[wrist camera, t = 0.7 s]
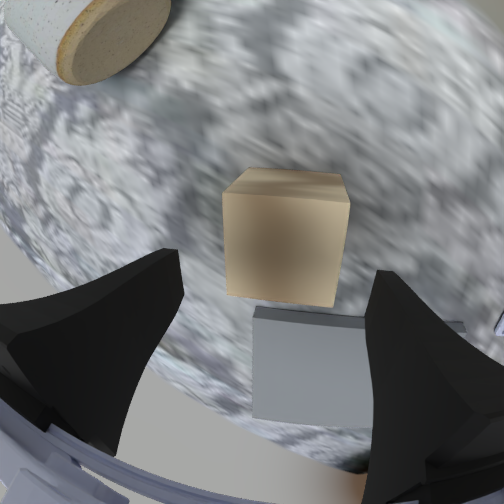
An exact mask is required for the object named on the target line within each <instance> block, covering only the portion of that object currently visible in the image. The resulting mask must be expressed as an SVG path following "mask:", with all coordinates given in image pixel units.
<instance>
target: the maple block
mask: <svg viewBox="0 0 504 504" xmlns="http://www.w3.org/2000/svg"><path fill="white" fill-rule="evenodd" d="M222 205H223V229H224V250H225V270H226V287H227V295H229V296H237V297H244V298H252V299H259V300H268V301H276V302H284V303H293V304H302V305H311V306H321V307H331V308H333V304H334V300H335V295H336V290H337V284H338V279H339V274H340V268H341V263H342V257H343V251H344V245H345V238H346V232H347V225H348V218H349V210H350V200H349V197H348V194H347V192H346V189H345V186H344V183H343V180H342V177H341V174H333V173H323V172H312V171H301V170H287V169H271V168H252V167H249V168H248V169H247V170H246V171H244V172H243V173H242V174H241V175H240V176H239V177H238V178H237V179H236V180H235V181H234V182H233V183H232V184H231V185H230V186H229V187H228V188H227V189H226V190H225V191H223V192H222Z"/></svg>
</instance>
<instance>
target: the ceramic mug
mask: <svg viewBox="0 0 504 504" xmlns="http://www.w3.org/2000/svg"><path fill="white" fill-rule="evenodd" d="M170 9H171V0H6V1H5V5H4V19H5V22H6V24H7V26H8V28H9V29H10V30H11V31H12V32H13V33H14V34H15V35H16V36H17V38H18V39H19V40H20V41H21V42H22V43H23V44H24V45H25V46H26V48H27V49H28V50H29V51H30V52H31V53H32V54H33V55H34V56H35V57H36V58H37V59H38V60H39V62H40V63H41V64H42V65H43V66H44V67H45V68H46V69H47V70H48V71H49V72H50V73H52V74H53V75H54V76H56V77H58V78H59V79H61V80H62V81H64V82H65V83H68V84H71V85H78V86H82V85H89V84H94V83H97V82H100V81H103V80H105V79H107V78H109V77H111V76H113V75H114V74H116V73H118V72H119V71H121V70H123V69H124V68H125V67H127V66H128V65H129V64H131V63H132V62H133V61H134V60H136V59H137V58H138V57H139V56H140V55H141V54H142V53H143V52H144V51H145V50H146V49H147V48H148V47H149V46H150V45H151V44H152V43H153V41H154V40H155V39H156V37H157V36H158V35H159V34H160V32H161V31H162V29H163V27H164V25H165V23H166V21H167V19H168V16H169V13H170Z"/></svg>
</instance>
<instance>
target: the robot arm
mask: <svg viewBox="0 0 504 504" xmlns="http://www.w3.org/2000/svg"><path fill="white" fill-rule="evenodd" d="M183 296H184V288H183V282H182V275H181V268H180V261H179V254H178V250H176V249H167V248H163V249H160V250H157V251H155V252H152V253H150V254H148V255H146V256H144V257H142V258H140V259H138V260H136V261H134V262H132V263H130V264H128V265H126V266H124V267H122V268H120V269H117V270H115V271H113V272H111V273H109V274H107V275H104V276H102V277H100V278H98V279H96V280H94V281H91V282H89V283H86V284H84V285H81V286H78V287H76V288H73V289H70V290H67V291H64V292H60V293H57V294H53V295H50V296H47V297H43V298H39V299H34V300H29V301H23V302H17V303H9V304H0V481H1V482H2V484H3V485H4V486H5V487H6V488H7V491H6V493H5V495H4V496H3V498H2V500H1V502H0V504H129V499H128V498H126V497H125V496H123V495H121V494H119V493H117V492H116V491H114V490H112V489H111V488H109V487H108V486H106V485H105V484H104V483H102V482H101V481H99V480H98V479H97V478H95V477H93V476H92V475H90V474H88V473H86V472H85V471H83V470H82V468H81V466H80V465H82V466H84V467H86V468H88V469H89V470H91V471H93V472H95V473H97V474H98V475H100V476H103V477H104V478H106V479H108V480H110V481H112V482H114V483H117V484H118V485H121V486H123V487H125V488H127V489H129V490H132V491H134V492H136V493H139V494H141V495H143V496H146V497H149V498H151V499H154V500H156V501H159V502H162V503H165V504H274V503H266V502H259V501H253V500H247V499H242V498H236V497H232V496H227V495H222V494H217V493H213V492H210V491H206V490H202V489H198V488H195V487H191V486H188V485H184V484H181V483H178V482H175V481H171V480H169V479H166V478H163V477H160V476H157V475H154V474H152V473H149V472H147V471H144V470H142V469H139V468H136V467H134V466H132V465H129V464H127V463H125V462H123V461H120V460H118V459H116V458H114V456H116V453H117V448H118V444H119V440H120V436H121V432H122V428H123V425H124V421H125V418H126V415H127V412H128V409H129V406H130V403H131V400H132V397H133V395H134V392H135V390H136V387H137V385H138V382H139V380H140V378H141V375H142V373H143V371H144V369H145V366H146V364H147V363H148V361H149V359H150V357H151V355H152V354H153V352H154V350H155V349H156V347H157V345H158V344H159V342H160V340H161V339H162V337H163V335H164V334H165V332H166V331H167V329H168V327H169V326H170V324H171V322H172V321H173V319H174V317H175V315H176V313H177V311H178V309H179V306H180V304H181V301H182V299H183ZM495 334H496V336H504V314H503V316H502V318H501V320H500V322H499V323H498V325H497V327H496V329H495ZM365 339H366V346H367V353H368V360H369V367H370V374H371V382H372V390H373V429H372V443H371V453H370V461H369V468H368V475H367V480H366V485H365V490H364V495H363V499H362V503H361V504H504V366H503V365H501V364H499V363H497V362H496V361H494V360H493V359H491V358H490V357H488V356H487V355H485V354H484V353H482V352H481V351H480V350H478V349H477V348H475V347H474V346H472V345H471V344H470V343H469V342H467V341H466V340H465V339H464V338H462V337H461V336H460V335H459V334H457V333H456V332H455V331H454V330H453V329H451V328H450V327H449V326H448V325H447V324H446V323H445V322H444V321H443V320H442V319H441V318H439V317H438V316H437V315H436V314H435V313H434V312H433V311H432V310H431V309H430V308H429V307H428V306H427V305H426V304H425V303H424V302H423V301H422V300H421V299H420V298H419V297H418V296H417V295H416V293H415V292H414V291H413V290H412V289H411V288H410V287H409V286H408V285H407V284H406V283H405V282H404V281H403V280H402V279H401V278H400V277H399V276H398V275H397V274H396V273H394V272H393V271H384V270H377V272H376V276H375V280H374V284H373V288H372V291H371V295H370V299H369V302H368V306H367V309H366V313H365Z"/></svg>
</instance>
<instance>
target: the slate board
mask: <svg viewBox="0 0 504 504" xmlns="http://www.w3.org/2000/svg"><path fill="white" fill-rule="evenodd" d="M445 323H446V324H447V325H448V326H449V327H450V328H451V329H453V330H454V331H455V332H456V333H457V334H459V335H460V336H461V337H462V338H465V336H466V334H467V332H466V329H465V327H464V325H463V323H462V322H445ZM252 418H257V419H263V420H270V421H277V422H285V423H293V424H303V425H314V426H327V427H349V428H373V390H372V382H371V374H370V367H369V360H368V353H367V346H366V339H365V318H363V317H351V316H339V315H328V314H318V313H308V312H299V311H290V310H281V309H273V308H265V307H257V306H256V309H255V312H254V315H253V393H252Z"/></svg>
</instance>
